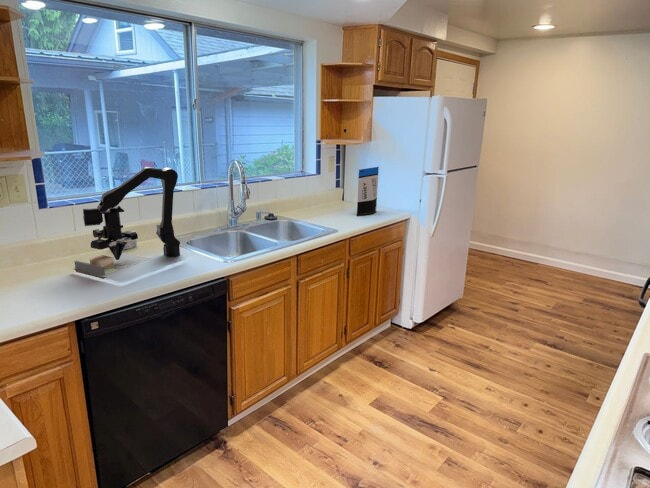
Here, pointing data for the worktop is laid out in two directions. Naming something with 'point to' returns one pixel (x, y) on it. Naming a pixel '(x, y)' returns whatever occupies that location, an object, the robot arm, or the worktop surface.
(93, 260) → the maple block
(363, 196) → the protein powder
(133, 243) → the medicine box
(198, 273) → the worktop surface
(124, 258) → the trap runway
